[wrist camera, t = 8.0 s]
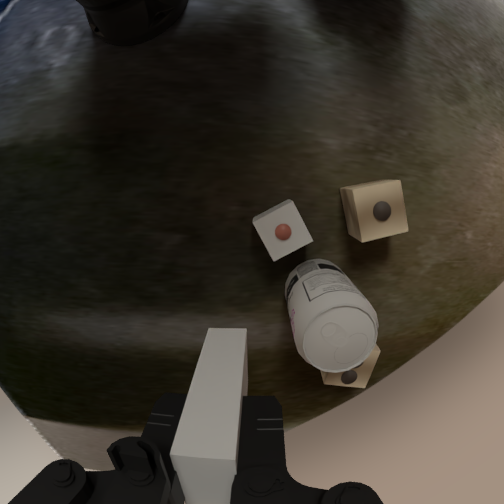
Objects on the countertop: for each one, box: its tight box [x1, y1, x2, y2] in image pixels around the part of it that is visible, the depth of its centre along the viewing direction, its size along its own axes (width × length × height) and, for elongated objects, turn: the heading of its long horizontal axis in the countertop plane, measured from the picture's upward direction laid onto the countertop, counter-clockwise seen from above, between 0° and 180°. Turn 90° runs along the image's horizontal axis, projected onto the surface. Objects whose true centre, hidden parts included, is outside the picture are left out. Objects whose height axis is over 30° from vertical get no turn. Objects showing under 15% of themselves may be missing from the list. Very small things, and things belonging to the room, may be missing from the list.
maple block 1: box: [339, 180, 408, 243], centre depth 36 cm, size 6×6×6 cm
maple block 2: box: [320, 344, 380, 388], centre depth 40 cm, size 6×6×6 cm
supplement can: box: [285, 259, 379, 373], centre depth 34 cm, size 8×8×15 cm
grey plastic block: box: [252, 199, 313, 261], centre depth 37 cm, size 5×5×5 cm
